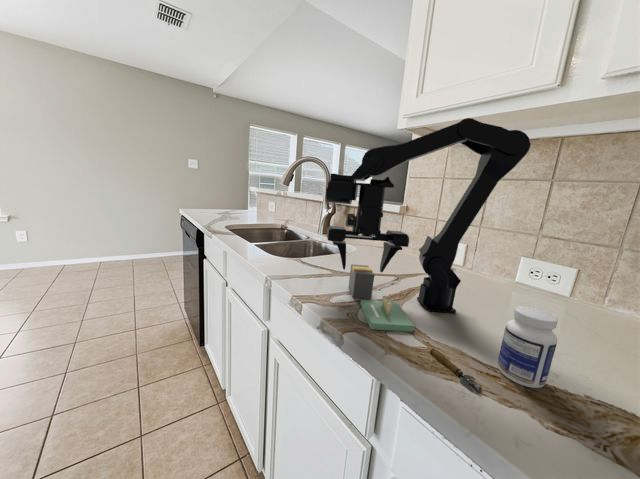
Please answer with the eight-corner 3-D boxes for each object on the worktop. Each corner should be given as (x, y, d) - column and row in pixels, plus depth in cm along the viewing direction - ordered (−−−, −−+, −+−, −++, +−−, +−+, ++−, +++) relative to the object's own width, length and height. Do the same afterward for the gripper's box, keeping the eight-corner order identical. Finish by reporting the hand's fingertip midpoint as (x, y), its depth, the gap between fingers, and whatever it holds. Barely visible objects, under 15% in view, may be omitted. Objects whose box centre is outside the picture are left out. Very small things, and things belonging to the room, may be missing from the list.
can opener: (428, 354, 41) (429, 347, 41) (440, 353, 41) (442, 346, 41) (474, 399, 32) (476, 391, 32) (489, 397, 33) (491, 389, 33)
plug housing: (348, 286, 66) (351, 263, 65) (365, 287, 66) (368, 264, 65) (352, 297, 59) (355, 272, 58) (371, 298, 60) (374, 273, 58)
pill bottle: (522, 362, 40) (537, 305, 38) (556, 391, 35) (576, 324, 33) (487, 360, 40) (501, 302, 38) (515, 389, 34) (534, 322, 32)
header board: (360, 304, 56) (362, 288, 55) (395, 307, 56) (398, 291, 56) (370, 329, 46) (373, 310, 46) (413, 331, 47) (416, 313, 46)
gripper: (398, 207, 67) (390, 263, 70) (328, 201, 66) (323, 258, 69) (414, 211, 56) (404, 277, 59) (331, 204, 55) (325, 271, 58)
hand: (362, 270), depth 62 cm, fingers open, 9 cm apart
